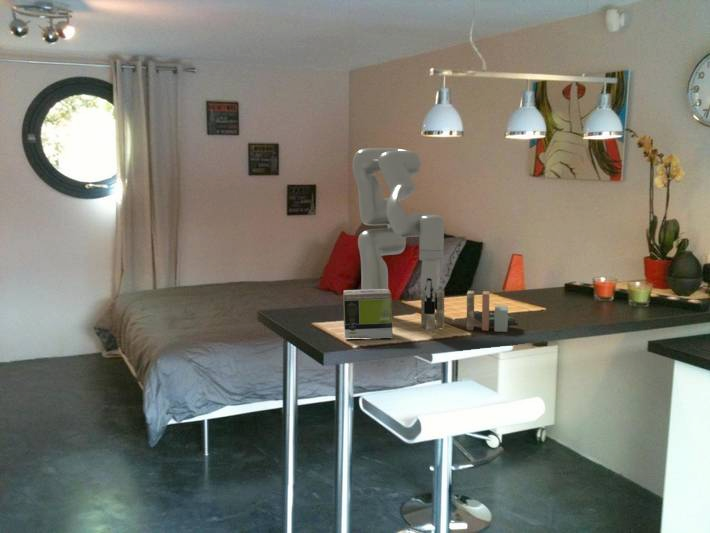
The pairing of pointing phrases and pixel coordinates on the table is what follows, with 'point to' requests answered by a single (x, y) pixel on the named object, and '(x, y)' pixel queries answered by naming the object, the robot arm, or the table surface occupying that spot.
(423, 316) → the domino
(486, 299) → the domino
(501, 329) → the block
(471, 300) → the domino
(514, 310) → the table surface
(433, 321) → the domino
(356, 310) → the tea box
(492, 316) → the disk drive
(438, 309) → the domino
